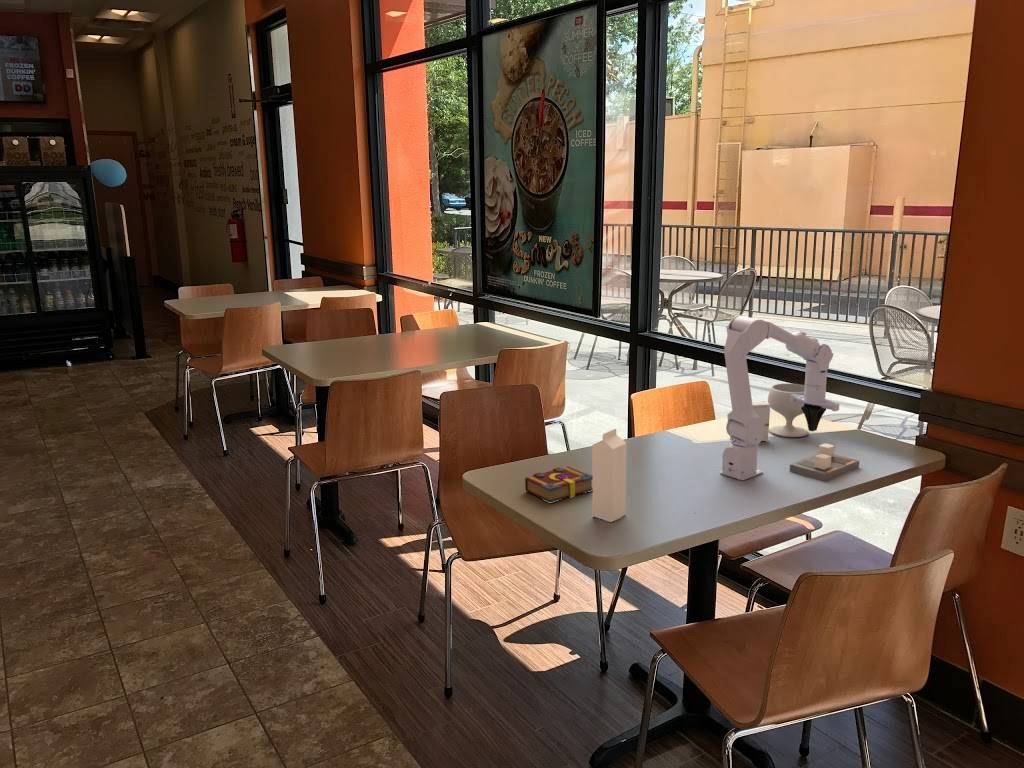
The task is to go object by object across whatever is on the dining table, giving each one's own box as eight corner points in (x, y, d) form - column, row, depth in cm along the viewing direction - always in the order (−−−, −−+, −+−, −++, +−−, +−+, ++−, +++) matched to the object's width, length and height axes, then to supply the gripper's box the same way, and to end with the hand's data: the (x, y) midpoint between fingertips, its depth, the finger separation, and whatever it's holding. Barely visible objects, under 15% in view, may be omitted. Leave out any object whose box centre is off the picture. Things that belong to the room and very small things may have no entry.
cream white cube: (823, 469, 227) (824, 458, 226) (814, 467, 229) (814, 456, 228) (830, 467, 229) (831, 456, 228) (820, 464, 231) (821, 453, 230)
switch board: (824, 481, 224) (825, 473, 224) (789, 471, 233) (789, 463, 233) (858, 467, 235) (859, 460, 234) (823, 458, 243) (824, 451, 243)
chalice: (757, 432, 269) (759, 388, 265) (780, 424, 277) (783, 380, 274) (797, 442, 258) (799, 395, 255) (819, 432, 267) (822, 387, 264)
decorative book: (524, 492, 222) (523, 475, 221) (571, 479, 231) (571, 462, 230) (550, 505, 213) (549, 487, 212) (597, 491, 222) (597, 473, 221)
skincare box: (750, 442, 259) (752, 405, 256) (744, 438, 263) (746, 401, 260) (769, 441, 259) (771, 404, 257) (763, 437, 264) (764, 400, 261)
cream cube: (827, 458, 236) (828, 448, 235) (818, 456, 238) (818, 445, 237) (833, 456, 238) (834, 445, 237) (824, 453, 240) (825, 443, 239)
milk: (625, 515, 205) (627, 430, 200) (612, 523, 200) (613, 436, 195) (605, 510, 209) (606, 426, 203) (591, 517, 204) (592, 431, 199)
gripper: (846, 386, 231) (843, 433, 235) (801, 377, 243) (798, 422, 246) (832, 390, 227) (829, 438, 231) (786, 381, 239) (784, 426, 242)
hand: (812, 430), depth 238 cm, fingers closed
